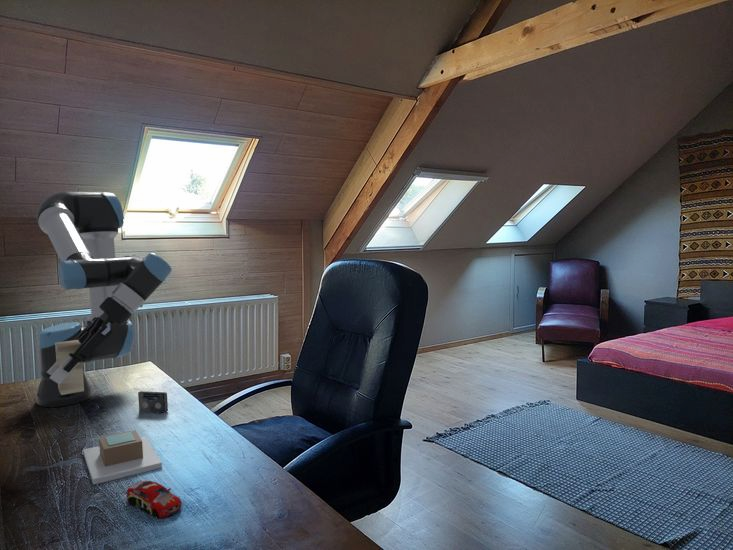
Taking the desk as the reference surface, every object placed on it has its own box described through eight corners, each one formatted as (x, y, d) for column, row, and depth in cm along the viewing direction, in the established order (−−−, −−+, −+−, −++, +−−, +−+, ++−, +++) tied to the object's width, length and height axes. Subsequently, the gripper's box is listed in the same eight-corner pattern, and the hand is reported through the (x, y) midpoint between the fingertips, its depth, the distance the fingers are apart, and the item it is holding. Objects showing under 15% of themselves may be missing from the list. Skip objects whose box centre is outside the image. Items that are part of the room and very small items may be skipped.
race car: (186, 511, 105) (185, 491, 105) (161, 524, 101) (160, 503, 101) (148, 490, 113) (147, 472, 113) (123, 502, 109) (122, 482, 108)
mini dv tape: (168, 412, 159) (167, 391, 158) (165, 413, 157) (164, 393, 157) (142, 410, 160) (141, 390, 160) (139, 412, 159) (138, 392, 158)
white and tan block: (83, 454, 131) (81, 432, 130) (145, 440, 138) (144, 420, 138) (93, 484, 116) (91, 460, 115) (162, 467, 123) (160, 444, 123)
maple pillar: (58, 389, 137) (55, 342, 135) (80, 385, 140) (77, 339, 138) (61, 395, 133) (57, 346, 131) (84, 390, 136) (81, 343, 134)
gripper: (141, 318, 136) (71, 396, 128) (124, 308, 150) (60, 377, 143) (117, 299, 132) (43, 378, 124) (102, 291, 147) (35, 361, 139)
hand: (53, 378), depth 133 cm, fingers closed on maple pillar, 5 cm apart
